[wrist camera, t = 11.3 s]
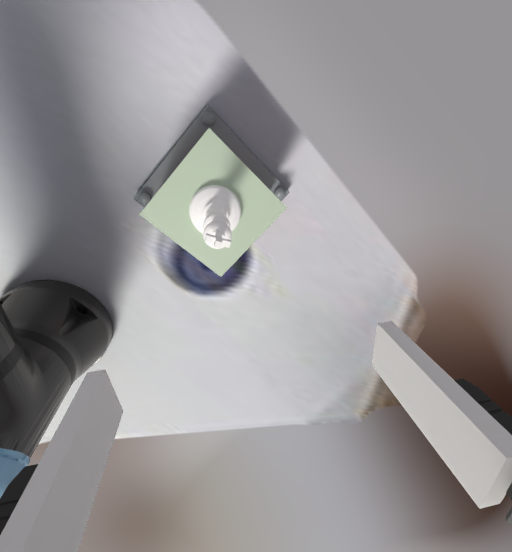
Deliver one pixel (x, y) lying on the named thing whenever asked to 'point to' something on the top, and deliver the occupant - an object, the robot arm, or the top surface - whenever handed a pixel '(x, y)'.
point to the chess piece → (215, 214)
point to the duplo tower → (203, 172)
